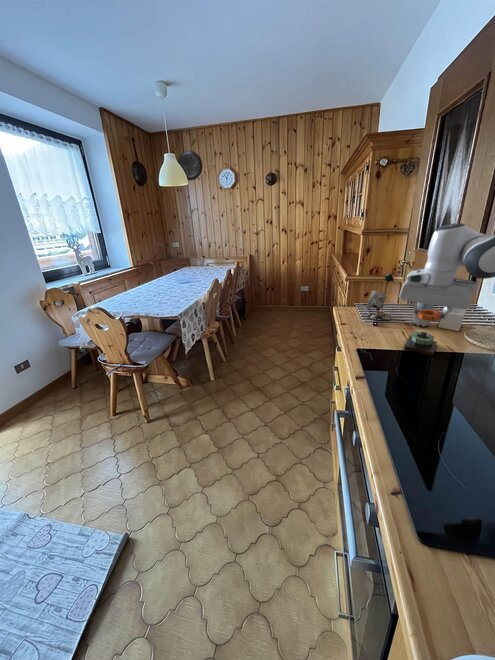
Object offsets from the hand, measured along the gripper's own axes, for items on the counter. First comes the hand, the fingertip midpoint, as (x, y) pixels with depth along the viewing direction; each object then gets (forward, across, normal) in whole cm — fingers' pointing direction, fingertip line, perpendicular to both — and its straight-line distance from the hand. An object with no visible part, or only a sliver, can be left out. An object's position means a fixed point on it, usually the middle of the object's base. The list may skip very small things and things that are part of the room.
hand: (429, 315), depth 98 cm
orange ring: (0, 0, 0) cm, 0 cm away
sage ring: (+10, 0, 0) cm, 10 cm away
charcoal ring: (+11, 0, 0) cm, 11 cm away
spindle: (+13, 0, 0) cm, 13 cm away
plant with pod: (+13, +20, -19) cm, 31 cm away
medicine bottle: (+13, -7, -24) cm, 28 cm away
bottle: (+13, +3, -20) cm, 24 cm away
